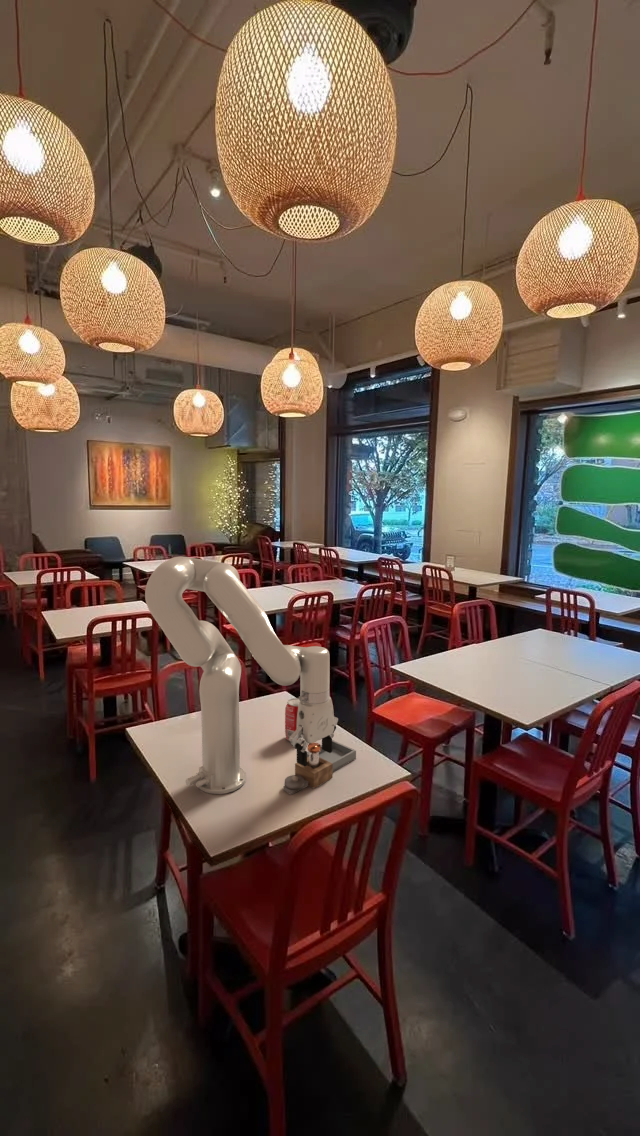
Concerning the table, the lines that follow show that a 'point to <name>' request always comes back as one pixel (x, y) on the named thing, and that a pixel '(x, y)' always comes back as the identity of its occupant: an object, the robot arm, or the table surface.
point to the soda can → (291, 717)
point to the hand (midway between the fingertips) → (314, 757)
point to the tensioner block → (308, 776)
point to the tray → (337, 755)
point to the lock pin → (314, 755)
